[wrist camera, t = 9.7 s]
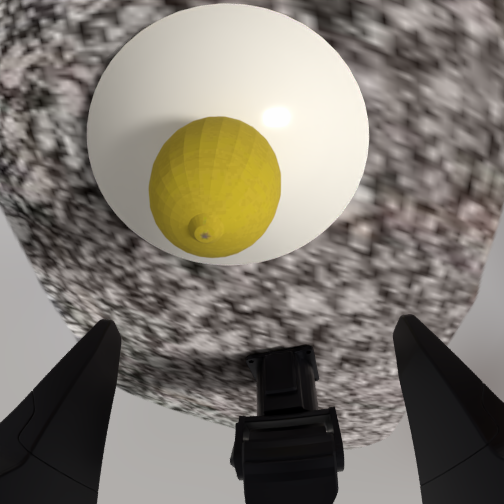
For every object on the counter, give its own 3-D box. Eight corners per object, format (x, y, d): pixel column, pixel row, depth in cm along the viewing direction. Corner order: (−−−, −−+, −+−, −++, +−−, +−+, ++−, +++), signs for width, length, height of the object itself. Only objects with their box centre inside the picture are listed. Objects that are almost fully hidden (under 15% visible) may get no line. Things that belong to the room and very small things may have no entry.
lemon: (173, 193, 18) (134, 290, 12) (172, 100, 15) (114, 152, 8) (268, 199, 18) (278, 300, 12) (280, 105, 15) (304, 162, 9)
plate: (371, 227, 21) (377, 237, 20) (155, 272, 24) (151, 283, 23) (333, -18, 12) (338, -21, 11) (60, 70, 14) (49, 73, 13)
